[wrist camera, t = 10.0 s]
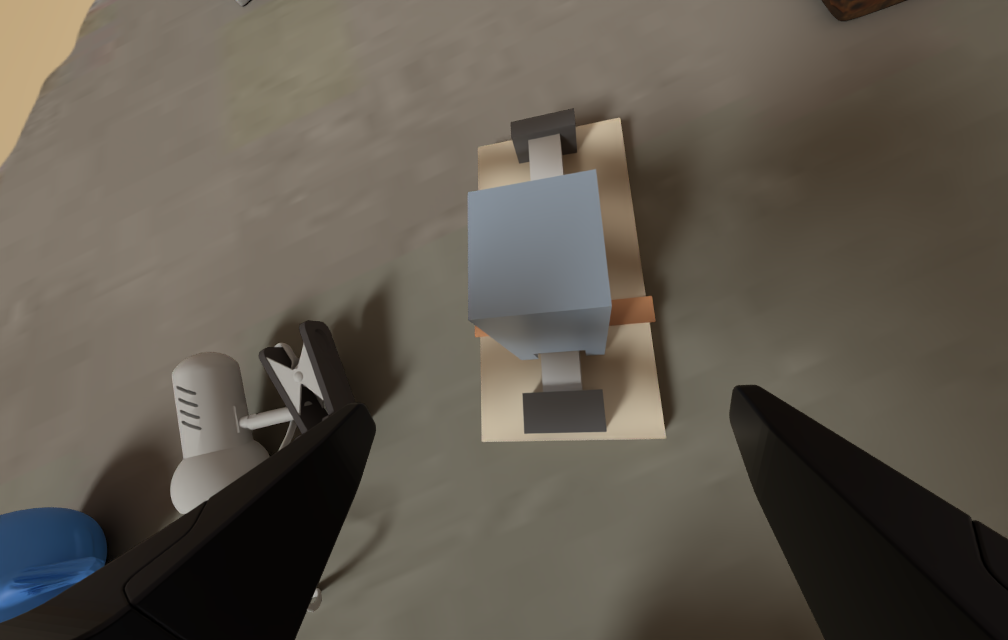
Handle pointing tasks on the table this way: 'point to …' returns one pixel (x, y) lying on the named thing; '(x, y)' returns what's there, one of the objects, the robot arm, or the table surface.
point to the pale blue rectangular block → (539, 266)
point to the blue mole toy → (45, 555)
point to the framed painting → (856, 7)
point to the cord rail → (629, 349)
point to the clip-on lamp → (224, 415)
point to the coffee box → (242, 2)
